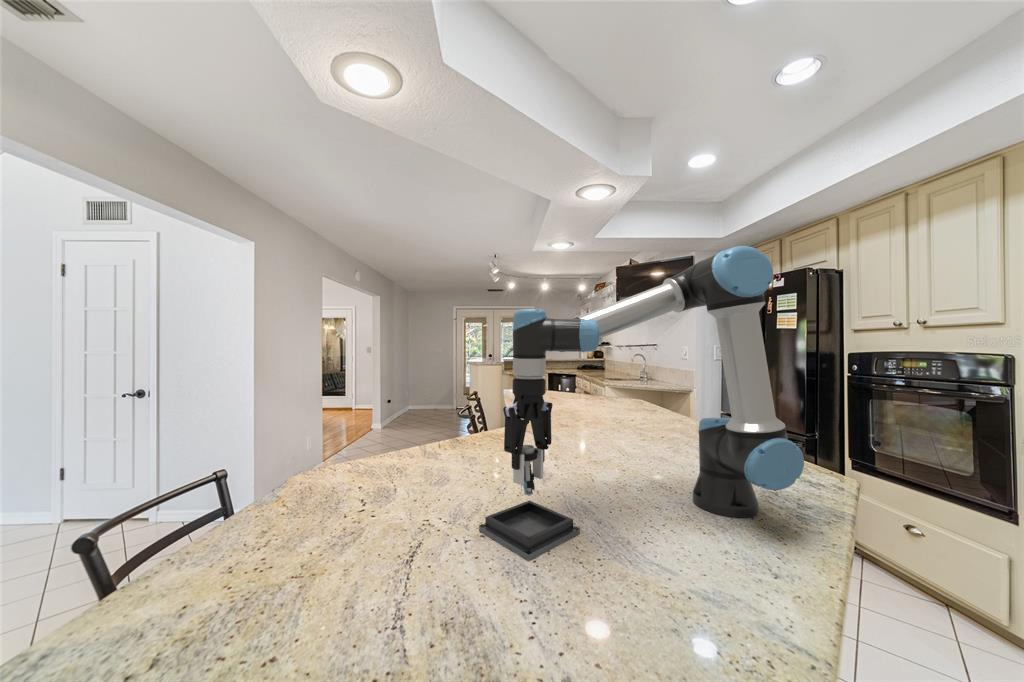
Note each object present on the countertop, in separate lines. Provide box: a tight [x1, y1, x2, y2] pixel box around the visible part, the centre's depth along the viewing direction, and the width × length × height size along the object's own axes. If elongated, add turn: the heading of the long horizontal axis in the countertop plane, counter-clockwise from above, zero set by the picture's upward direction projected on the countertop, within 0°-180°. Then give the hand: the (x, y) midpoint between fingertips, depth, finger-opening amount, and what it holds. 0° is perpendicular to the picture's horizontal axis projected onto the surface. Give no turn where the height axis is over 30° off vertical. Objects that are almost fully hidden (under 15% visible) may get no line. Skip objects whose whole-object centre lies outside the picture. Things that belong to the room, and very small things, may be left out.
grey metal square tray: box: [478, 500, 581, 562], centre depth 83 cm, size 16×16×3 cm
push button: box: [520, 444, 538, 497], centre depth 84 cm, size 7×5×10 cm
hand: (528, 480), depth 84 cm, fingers closed on push button, 5 cm apart
